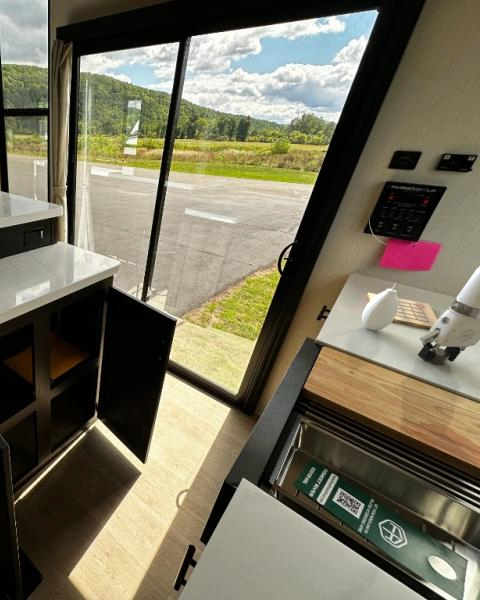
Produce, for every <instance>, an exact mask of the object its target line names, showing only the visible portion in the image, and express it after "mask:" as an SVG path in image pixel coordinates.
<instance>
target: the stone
mask: <svg viewBox="0 0 480 600" xmlns="http://www.w3.org/2000/svg"><path fill="white" fill-rule="evenodd" d="M435 352H436V353H435V355H434V356H433V357H432V359H431V360H430V361H429V362H428V363H430V364H432V365H436V366H444V365H445V363H446V362H447V361H448V360H447V359H448V358H449V357H450V353H449V352H447V351H446V350H445V349H443V348H442V347H439V348H438V349H436V350H435Z"/></svg>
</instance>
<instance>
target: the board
mask: <svg viewBox="0 0 480 600" xmlns="http://www.w3.org/2000/svg"><path fill="white" fill-rule="evenodd" d="M378 294H379V293H378ZM378 294H377V293H373V292H367V293H366V298H367V301H368V303H369V302H370V301H371V300H372V299H373V298H374V297H375V296H377V295H378ZM438 319H439V318H437V315H436V314H435V312H434V310H433V309H432V307H431V305H430V304H429V303H426V302H420V301H415V300H411V299H405V298H404V299H403V298H399V297H398V311H397V314H396V316H395V318H394V320H393V321H392V322H391V323H396V324H403V325H407V326H412V327H415V328H421V329H425V330H428V331H430V329H431V328H432V326H433V325H434V324H435V323H436V321H437V320H438Z"/></svg>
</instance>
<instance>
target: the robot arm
mask: <svg viewBox="0 0 480 600" xmlns="http://www.w3.org/2000/svg"><path fill="white" fill-rule="evenodd" d="M437 319H438V320H437V321H436V323H435V324H434V325H433V326H432V328H431V329H430V330H428V332H427V333H426V334H424V335H422V336H421V337H420V338H419V340H420V341H421V344H422V348H421V349H420V351H419V352H418V353H417V356H418V357H419V358H420V359H422V360H423V361H424V362H425V363H430V362H429V361H430V360H431V359H432V357H433V356H434V355H435V353H436V352H435V350H436V349H438V348H441V347H444V348H445V349H444V350H446V351H447V352H449V353H450V357H449V358H448V359H447V361H448V362H450V363H451V362H454V361H455V360H456V359H457V357H458V356H459V355H460V354H461V352H464V351H465V350H466V348H468V347H473V346H475V345H477V344H478V342H479V341H480V265H479V266H478V267H477V268H476V269H475V270H474V272H473V273H472V274H471V276H470V278H469V279H468V280H467V281H466V283H465V285H463V287H462V289H461V290H460V291H459V293H458V294H457V296H456V298H455V299H454V300H453V302H452V303H451V305H450V306H449V308H447V309H446V310H445V311H444V312H443V313H442V314H441V315H440V316H439V318H437ZM433 343H435V344H434V345H433Z"/></svg>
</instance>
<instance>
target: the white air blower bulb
mask: <svg viewBox="0 0 480 600" xmlns="http://www.w3.org/2000/svg"><path fill="white" fill-rule="evenodd" d="M396 286H397V282H395V283H394V285H393V286H392V288H386V290H384V291H381V292H380V293H378V295H377V296H375V297H374V298H373V299H372V300H371V301H370V302H369V301H368V302H367V304H366V306H365V307H364V309H363V310H362V313H361V314H362V315H361V320H362V324H363V326H364V327H365V328H366V329H368V330H370V331H380V330H383V329H386V328H387V327H389V326H390V325H391V324H392V323H393V322H392V321H393V320H394V318H395V316H396V314H397V311H398V298H399V297H398V295H397V294H398V291H397V290H396V289H395V288H396Z"/></svg>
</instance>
